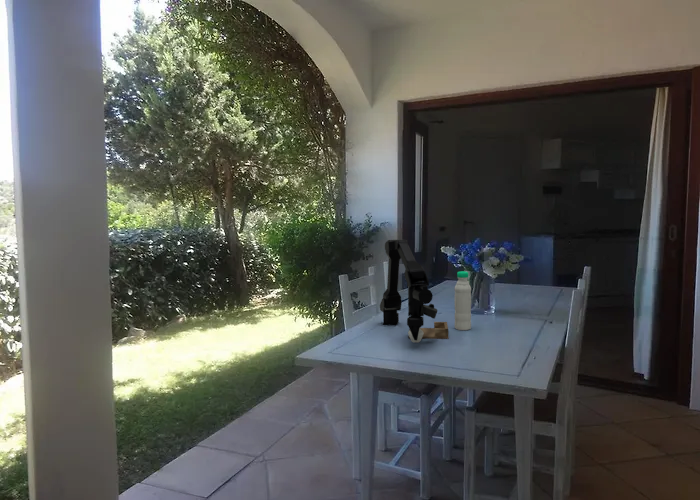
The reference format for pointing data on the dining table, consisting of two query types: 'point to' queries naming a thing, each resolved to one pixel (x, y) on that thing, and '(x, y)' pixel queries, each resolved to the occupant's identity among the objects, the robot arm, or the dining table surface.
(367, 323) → the dining table surface
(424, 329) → the channel bracket
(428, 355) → the dining table surface
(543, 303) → the dining table surface
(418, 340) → the muffin
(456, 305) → the white milk bottle
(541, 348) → the dining table surface
